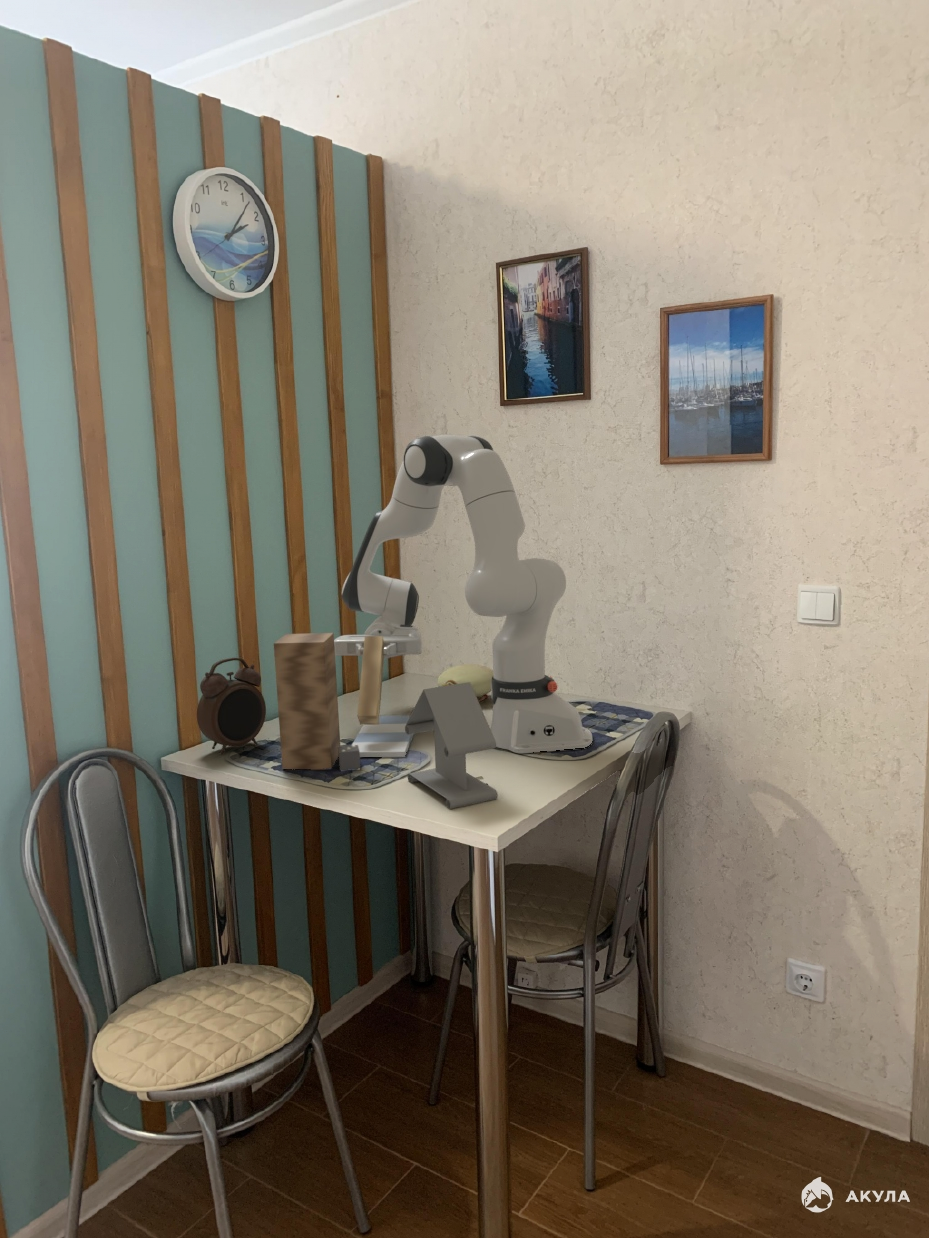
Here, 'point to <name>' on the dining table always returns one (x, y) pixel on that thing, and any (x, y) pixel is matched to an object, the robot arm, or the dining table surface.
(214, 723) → the alarm clock
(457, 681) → the flask
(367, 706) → the light wooden block
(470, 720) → the phone stand
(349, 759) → the die
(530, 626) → the robot arm
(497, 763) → the dining table surface
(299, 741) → the walnut stand
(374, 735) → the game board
